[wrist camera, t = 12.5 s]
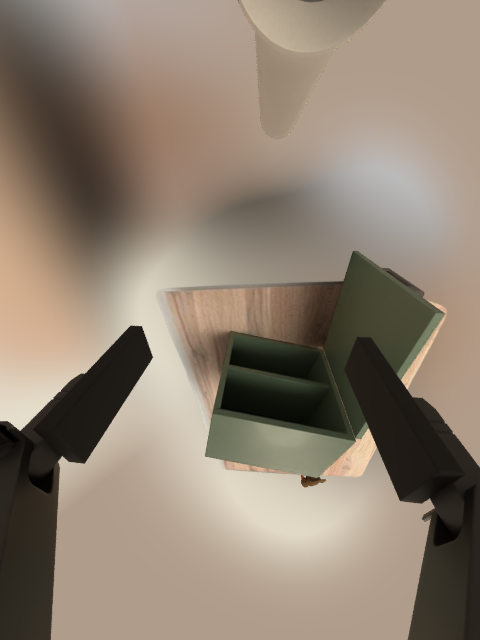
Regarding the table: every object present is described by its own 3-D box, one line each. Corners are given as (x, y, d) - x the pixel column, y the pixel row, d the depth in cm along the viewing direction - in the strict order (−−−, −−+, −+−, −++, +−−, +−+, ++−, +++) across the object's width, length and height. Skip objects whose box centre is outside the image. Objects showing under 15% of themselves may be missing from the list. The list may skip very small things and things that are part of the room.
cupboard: (231, 331, 56) (212, 413, 36) (323, 349, 56) (356, 441, 36) (222, 373, 66) (204, 456, 46) (301, 389, 67) (317, 478, 46)
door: (387, 251, 41) (506, 316, 21) (348, 349, 55) (395, 442, 35) (352, 250, 41) (435, 313, 21) (322, 348, 56) (355, 438, 36)
